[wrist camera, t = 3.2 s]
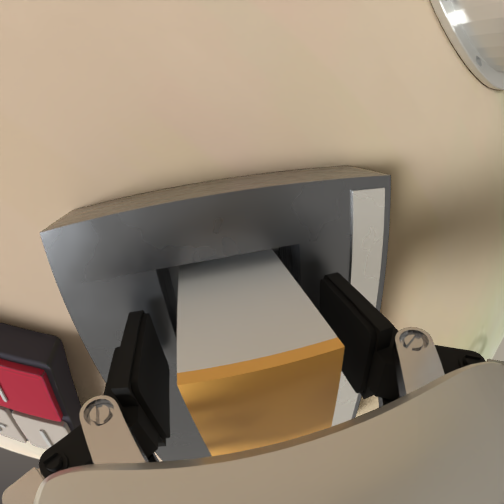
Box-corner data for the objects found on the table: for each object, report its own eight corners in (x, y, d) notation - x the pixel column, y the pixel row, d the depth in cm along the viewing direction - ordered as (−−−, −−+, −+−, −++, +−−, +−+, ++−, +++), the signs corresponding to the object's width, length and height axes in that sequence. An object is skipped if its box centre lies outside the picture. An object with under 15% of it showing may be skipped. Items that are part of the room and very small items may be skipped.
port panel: (348, 165, 14) (392, 175, 10) (330, 420, 22) (345, 449, 19) (72, 210, 11) (38, 233, 8) (181, 453, 20) (184, 485, 17)
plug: (263, 238, 14) (344, 346, 6) (270, 308, 15) (330, 428, 8) (180, 253, 13) (176, 385, 6) (196, 322, 14) (213, 458, 7)
